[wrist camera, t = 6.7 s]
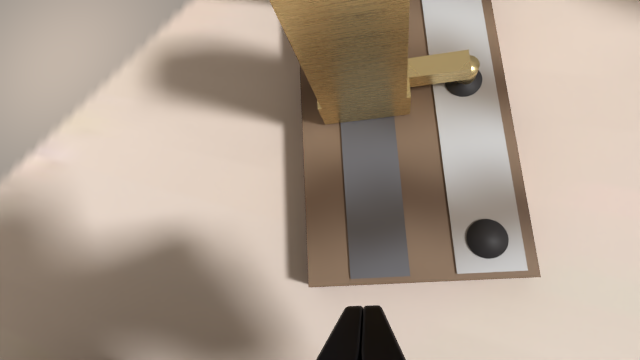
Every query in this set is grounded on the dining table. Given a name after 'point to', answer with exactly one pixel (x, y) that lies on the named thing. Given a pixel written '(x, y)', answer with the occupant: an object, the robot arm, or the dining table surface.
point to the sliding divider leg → (363, 56)
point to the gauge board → (422, 172)
